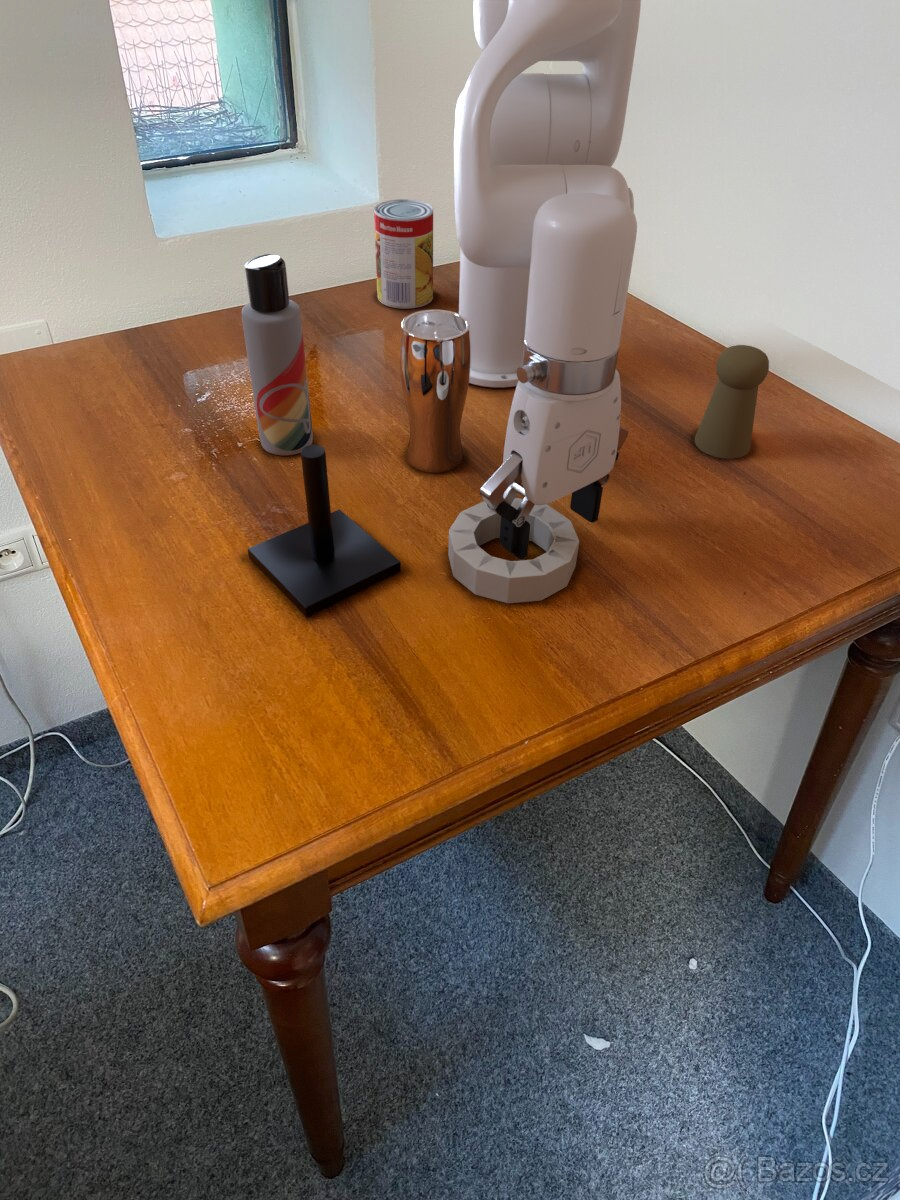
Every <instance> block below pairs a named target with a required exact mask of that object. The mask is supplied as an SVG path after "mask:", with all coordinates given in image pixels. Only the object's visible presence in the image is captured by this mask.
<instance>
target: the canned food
mask: <svg viewBox="0 0 900 1200" xmlns="http://www.w3.org/2000/svg"><path fill="white" fill-rule="evenodd" d="M373 219H374V243H375V244H374V245H375V247H374V248H375V271H376V272H375V273H376V291H377V292H376V297H377V299H378V302H380V303H381V304H382V305H385V306H386V307H390V308H394V309H400V310H401V309H403V310H404V309H405V310H406V309H407V310H409V309H416V308H421V307H424V306H426V305H428V304H430V303H431V302H432V300H433V299H434V208H433V206H432V205H431V204H429V203H427V202H425V201H422V200H417V199H410V198H409V199H408V198H399V199H398V198H397V199H390V200H385V201H381V202H379V203H378V204H376V205H375V206H374V208H373Z"/></svg>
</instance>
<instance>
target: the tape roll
mask: <svg viewBox="0 0 900 1200" xmlns="http://www.w3.org/2000/svg"><path fill="white" fill-rule="evenodd" d="M523 499H524V498H519V497H515V499H514V501H513V502H512V504H511V506H513V507H514V508H515V509H518V508H519V506H520V504H521V502H522V501H523ZM526 521H527V522H529V523H530V534H529V542H532V543H534V544H536V545H537V546H539V547H540V548H541V549H542V550H544V551H545V552H544V553H542V554H541V555H539V556H537V557H535V558H533V559H522V560H508V559H504V558H500V557H496V556H493V555H490V554H489V553H487V552H486V551H485V550H484V549H483V548H481V546H483V545H484V544H486V543H488V542H491V541H492V540H494V539H500V524H501V516H500V515H499V514H497V513H496V512H495V511H493V510H492V509H490V508H489V507H488V506H487V503H486V502H485V501H484V500H483V501H481V502H478V503H477V504H474V505H473V506H470V507H469V508H466V509H464V510H462V511H460V512H459V514H458V516H457V517H456V519H455V520H454V522H453V523H452V525H451V526H450V528H449V530H448V549H447V551H448V553H447V554H448V559H449V560H448V561H449V565H450V568H451V573H452V577H453V578H454V579H455V580H457V581H458V582H460V584H461V585H463V586H464V587H465V588H466V589H467V590H469V591H470V592H471V593H472V594H474V595H476V596H479V597H482V598H487V599H489V600H494V601H497V602H500V603H501V602H502V603H505V604H518V603H530V602H539V601H543V600H545V599H547V598H549V597H550V596H552V595H554V594H556V593H557V592H559V591H561V590H563V589H564V588H567V586H568V584H569V582H570V580H571V578H572V576H573V574H574V571H575V569H576V568H577V567H576V566H577V559H578V554H579V546H580V539H579V537H578V535H577V531H576V530H575V527H574V525H573V523H572V521H571V520H570V519H569V518H567V517H566V516H565V515H563V514H562V513H561V512H559V511H557V510H556V509H554V508H553V507H551V506H550V505H549V504H546V505H534V507H533V509H532V510H531V512H530V514H529V516H528V517H527V519H526Z"/></svg>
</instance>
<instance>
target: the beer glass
mask: <svg viewBox="0 0 900 1200" xmlns="http://www.w3.org/2000/svg"><path fill="white" fill-rule="evenodd" d="M400 324H401V333H400V347H399V348H400V349H399V369H400V370H399V371H400V382H401V387H402V393H403V399H404V404H405V408H406V412H407V417H408V423H409V438H408V444H407V448H406V455H405V457H406V461H407V463H408V465H410V466H411V467H412V468H414V469H415V470H418V471H421V472H425V473H430V474H439V473H446V472H450V471H453V470H454V469H456V468H457V467H459V466H460V465H461V464H462V462H463V459H464V451H463V445H462V440H461V439H462V438H461V423H462V418H463V413H464V409H465V405H466V399H467V395H468V391H469V385H470V383H469V380H470V368H471V345H470V323H469V321H468V320H467V319H466V318H465V317H464V316H462V315H460V314H459V312H454V311H452V310H445V309H424V310H419V311H416V312H412V313H409V314H408V315H407V316H405V317H404V318H403V320H402V321H401V323H400Z"/></svg>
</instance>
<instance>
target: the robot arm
mask: <svg viewBox="0 0 900 1200" xmlns="http://www.w3.org/2000/svg"><path fill="white" fill-rule="evenodd" d="M641 3H642V0H473V1H472V6H473V7H472V8H473V9H472V10H473V13H472V14H473V16H472V17H473V29H474V36H475V40H476V43H477V45H478V47H479V48H480V50H481V51H482V53H481V54H480V55H479V57H478V59H477V60H476V62H475V64H474V65H473V68H472V69H471V71H470V73H469V75H468V78H467V79H466V82H465V84H464V87H463V89H462V91H461V92H460V94H459V95H458V97H457V100H456V104H455V110H454V111H455V112H454V129H453V130H454V131H453V186H454V187H453V193H454V194H453V195H454V200H453V201H454V220H455V221H454V223H455V231H456V232H455V233H456V239H457V243H458V245H459V249H460V252H459V253H460V254H459V255H460V257H459V288H458V291H459V293H458V298H459V299H458V314H460V315H462V316H464V317H465V318H466V319H467V320H468V321H469V323H470V345H471V368H470V380H469V384H472V385H474V386H478V387H485V388H496V389H497V388H498V389H499V388H501V389H502V388H503V389H505V388H514V387H515V390H514V394H513V397H512V403H511V406H510V411H509V415H508V420H507V425H506V432H505V438H504V439H505V440H504V447H503V457H502V459H503V460H502V464H501V466H500V467H498V469H497V470H496V471H495V472H494V473H493V474H492V475H491V477H489V478H488V479H487V480H486V482H484V484H483V485H482V486H481V487H480V489H479V495H480V496H481V499H483V501H485V502H486V503H487V506H488V507H489V508H490V509H492V510H493V511H495V512H496V513H497V514H499V515H500V516H501V524H500V538H498V539H499V540H498V541H499V545H500V546H501V547H502V548H503V549H505V550H506V551H508V552H509V553H510V554H511V555H513V556H514V557H516V559H518V560H519V561H521V560H525V559H526V558H528V555H529V554H528V553H529V542H530V541H529V534H530V523H529V522H527V521H526V519H527V517H528V516H529V514H530V512H531V510H532V509H533V507H534V505H549V504H551V503H553V502H555V501H558V500H560V499H562V498H564V497H566V496H568V495H570V494H571V498H570V503H569V508H570V510H571V511H573V512H574V513H576V514H577V515H579V516H580V517H582V518H583V519H584V520H586V521H587V522H589V523H595V522H597V521H598V520H599V516H600V509H601V504H602V497H603V492H604V487H603V486H605V485H606V484H608V482H609V481H610V476H611V475H610V472H611V471H612V470H613V469H614V466H615V463H616V462H617V461H618V459H619V456H620V453H619V451H621V449H622V448H623V445H624V444H625V442H626V441H627V438H628V436H629V430H627V429H626V428H624V427H623V426H621V413H622V385H621V384H622V383H621V378H620V377H621V376H620V373H619V371H618V369H617V362H618V357H619V350H620V343H621V338H622V331H623V323H624V318H625V311H626V305H627V299H628V293H629V286H630V279H631V273H632V267H633V260H634V254H635V247H636V241H637V233H638V221H637V218H636V215H635V212H634V211H635V200H634V193H633V190H632V188H631V187H629V186H628V182H627V180H626V178H625V176H624V175H623V174H622V172H620V171H619V169H616V168H614V167H613V166H614V164H615V162H616V160H617V158H618V155H619V152H620V149H621V144H622V140H623V133H624V128H625V123H626V115H627V108H628V101H629V94H630V89H631V88H630V87H631V81H632V73H633V66H634V61H635V53H636V48H637V40H638V32H639V26H640V17H641V16H640V15H641V5H642V4H641ZM539 62H578V63H581V64H582V66H583V70H582V73H543V72H542V73H540V72H539V73H538V72H537V73H534V72H533V73H532V72H531V73H529V72H527V73H525V72H524V71H526V70H527V69H529V68H531V67H532V66H533V65H536V64H537V63H539ZM523 72H524V73H523ZM518 494H520V495H522V496H523V498H522V499H523V501H522V502H521V504H520V506H519V508H518V509H515V508H514V507H513V506H511V504H512V502H513V501H514V499H515V498H517V495H518Z"/></svg>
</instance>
